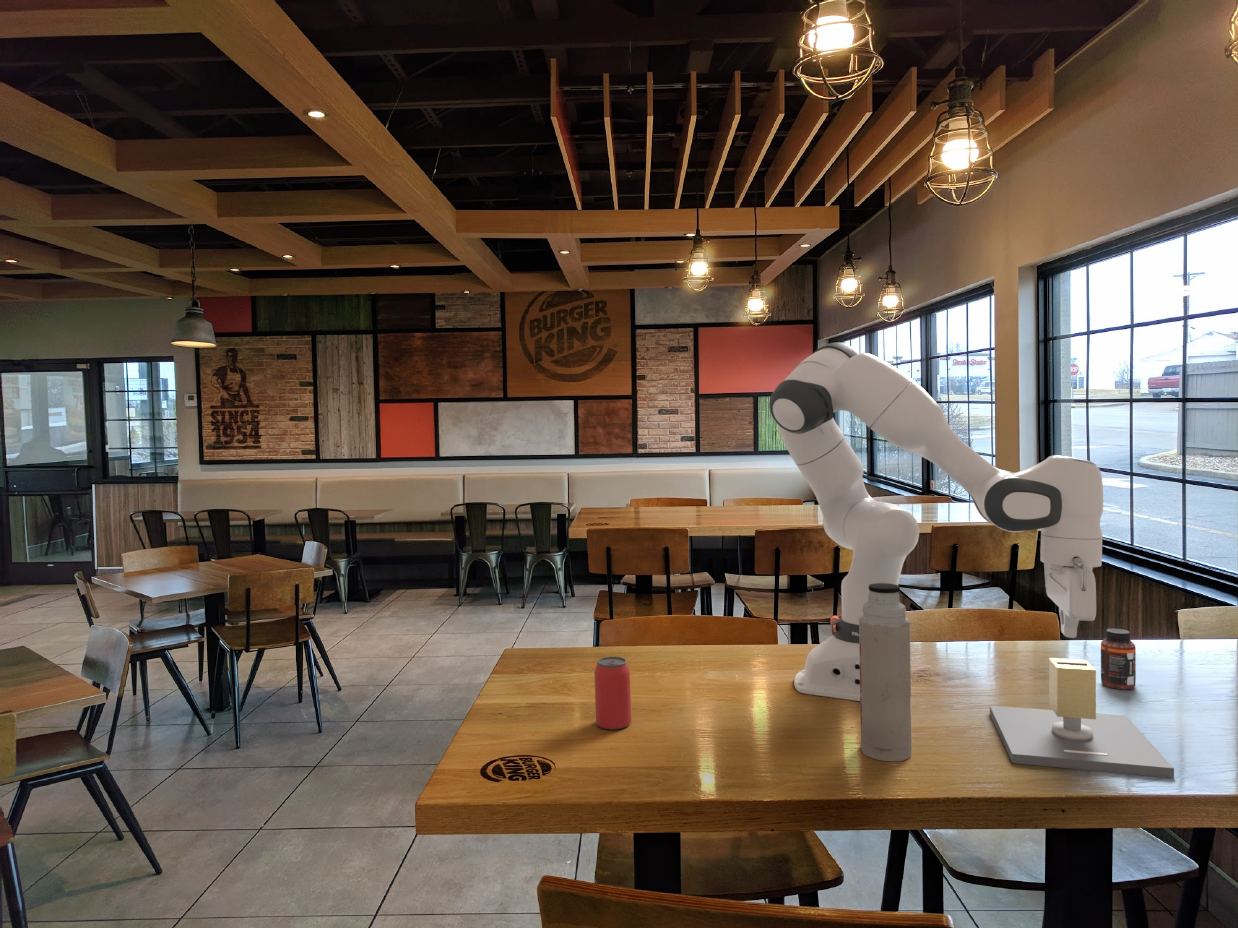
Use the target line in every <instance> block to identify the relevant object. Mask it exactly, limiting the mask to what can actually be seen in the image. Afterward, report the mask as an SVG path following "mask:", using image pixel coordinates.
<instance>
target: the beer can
mask: <svg viewBox="0 0 1238 928" xmlns="http://www.w3.org/2000/svg"><path fill="white" fill-rule="evenodd" d="M594 698H595V699H594V701H595V703H594V704H595V705H594V707H595V723H596V725H597V726H598V727H600V728H602V729H603V730H611V731H615V730H617V731H618V730H620V729H621V730H622V729H625V728H627V727H628V726H629V725H630V724H631V722H632V707H631V706H632V704H631V701H632V699H631V673H630V668H629V665H628V661H627V659H626V658H624V657H621V656H605V657H601V658H599V659H598V660H597V661H596V666H595V669H594Z"/></svg>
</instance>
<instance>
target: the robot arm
mask: <svg viewBox="0 0 1238 928" xmlns="http://www.w3.org/2000/svg"><path fill="white" fill-rule="evenodd" d="M768 408H769V412H770V415H771V417H772V419H773V420H774V421H775V423H776V424H777V428H778V431H779V433H780V436H781V438H782V441H783V443H784V445H785V448H786V450H787V451H788V453H789V456H790V457H791V459H792V460H793V461H794V464H795V465H796V466H797V469H799V471H800V473H801V475H802V476H803V478H804V479H805V481H806V482H807V484H808V485H809V487H810V489H811V491H812V492H813V494H814V496H815V498H816V501H817V503H818V506H819V508H820V511H821V513H822V527H823V530H824V532H825V533H826V535H827V536H828V537H829V539H831V540H832V541H833V542H835V543H836V544H837V545H839V546H840V547H842V548H845V549H848V550H851V551H852V560H851V563H850V567H849V571H848V573H847V574H846V575H845V576H844V577H843V579H842V580H841V585H840V587H841V589H840V590H841V591H840V593H841V617H840V616H837V615H832V617H831V618H830V621H829V623H830V625H831V634H832V635H831V636H830V637H828V638H827V639H825V640H823V641H822V642H821V643H819V644H818V645H817V646H815V647H813V648H812V649H811V650H810V652H809V653H808V655H807V657H806V660H805V666H804V669H802V670H800V671H798V672H797V673H796V675H795V676H794V680H793V681H794V687H795V688H794V689H796V690H797V692H799V693H801V694H807V695H814V696H822V697H829V698H835V699H843V700H850V701H857V702H860V653H859V617H860V616H862V615H863V611H862V609H863V605H864V603H866V602H868V601H869V585H870V584H875V583H889V584H895V585H898V586H899V582H900V577H901V573H902V568H903V567H904V562H905V560H906V558H907V556H908V555H909V554H910V553H911V552H912V551H913V550H914V549H915V547H916V545H917V544H918V542H919V538H920V527H919V523H918V522H917V520H916V519H917V518H915V516H914V515H913V514H912V513H911V512H909V511H908V510H906V509H904V508H902V507H901V506H899V505H897V504H894V503H891V502H884V501H878V500H875V499H874V498H873V497H871V495H870V494H869V493H868V491H867V489H866V485H865V483H864V478H863V475H864V470H865V469H864V465H863V464H862V462H861V460H860V459H859V457H858V456H857V454H856V452H855V451H854V449H853V447H852V445H851V444H850V442H849V441H848V439H847V438H846V437H845V436H846V435H844V433H843V432H842V430H841V429H840V427H839V425H838V424H837V422H836V420H835V418H834V413H836V412H839V411H845V412H849V413H850V414H853V415H854V416H855V417H856V418H858V419H859V420H860V421H861V422H862V423H863V424H865V425H866V426H867V427H868V428H869V429H870V430H871V431H873V432H874V433H876V435H878V436H880V437H881V438H882V439H884V440H886V441H887V442H888V443H890V444H892V445H893V446H895V447H897V448H900V449H902V450H903V451H906V452H908V453H911V454H915V455H916V456H919V457H922V458H923V459H926V460H928V461H929V462H931V463H932V464H934V465H935V466H936V467H938V468H939V469H940V470H941V471H943V472H944V473H945V474H946V475H948V477H950V478H951V479H952V480H954V481H955V482H956V483H957V484H958V485H960V486H961V488H963V489H964V490H965V491H966V492H967V493H968V495H969V496H970V497H971V499H972V502H973V504H974V506H975V508H976V510H977V512H978V514H979V515H980V516H981V517H982V518H983V519H984V520H985V521H986V522H988V523H989V524H992V525H993V526H995V527H996V528H999V529H1001V530H1002V531H1006V532H1009V533H1010V532H1011V533H1021V532H1023V533H1024V532H1026V531H1033V530H1040V546H1039V547H1040V548H1039V550H1040V552H1039V554H1040V558H1039V559H1040V562H1042V563H1043V568H1044V583H1045V584H1044V586H1045V591H1046V595H1047V597H1048V598H1049V599H1050V600H1051V601H1052V602H1053V603H1054V604H1055V605H1056V606H1057V607H1058V613H1059V618H1060V632H1061V633H1062V634H1063V636H1064V637H1066V638H1070V639H1071V638H1072V639H1074V638H1077V635H1078V626H1079V623H1080V621H1087V622H1093V621H1095V619H1096V616H1097V590H1096V589H1097V588H1096V587H1097V584H1096V577H1095V574H1094V572H1093V569H1094V568H1098V567H1099V568H1100V567H1101V566H1102V564H1103V563H1102V560H1103V532H1102V529H1101V517H1102V516H1103V512H1104V485H1103V478H1102V476H1103V475H1102V472H1101V470H1100V468H1099V467H1098V465H1096V464H1095V463H1094V462H1092V461H1090V460H1087V459H1084V458H1078V457H1073V456H1067V455H1066V456H1065V455H1062V454H1061V455H1060V454H1057V455H1056V454H1055V455H1054V454H1053V455H1050V456H1048V457H1046V459H1044V460H1043V461H1041V462H1039V463H1036V464H1035V465H1033V466H1031V467H1028V468H1025V469H1023V470H1020V471H1017V472H1016V471H1015V472H1012V471H1008V470H1006V469H1001V468H999V467H996V466H995V465H993V464H991V463H990V462H988V461H987V460H986V459H985V458H983V456H982V455H980V454H979V453H978V452H976V451H975V450H974V449H972V447H970V446H969V445H968V444H967V443H965V442H964V441H963V440H962V439H961V438H960V437H959V436H958V435H956V434H955V431H953V429H952V427H951V426H950V425H949V422H948V421H947V419H946V416H945V414H944V411H943V409H942V408H941V406H940V405H939V404H938V402H937V401H936V400H935V399H934V398H933V397H932V396H931V395H930V393H928V392H927V391H926V390H925V389H924V388H923V387H922V386H921V385H920V384H918V383H917V382H916V381H915V380H913V379H912V378H911V377H910V376H908V375H907V374H906V373H904V372H903V371H901V370H900V369H898V368H897V367H895V366H894V365H892V364H890V362H889V363H888V362H887V361H885V360H883V359H882V358H879V357H878V356H876V355H874V354H871V353H868V352H861V353H859V352H858V351H857V350H856V349H855V348H853V347H852V346H851V345H849V344H847V343H844V342H839V341H837V342H830V343H828V344H825V345H823V346H821V347H819V348H816V350H814V352H813V353H812V354H811V355H809V356H807V357H806V358H805V359H803V360H802V361H801V362H800V363H799V364H798V365H796V366H795V367H794V369H793V370H792V371H791V372H790V373H789V374H788V375H787V377H786V378H785V379H784V380H783V381H781V382H780V383H779V384H778V385H777V386H776V388H774V390H773V391H772V394H771V395H770V399H769V400H768Z"/></svg>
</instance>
